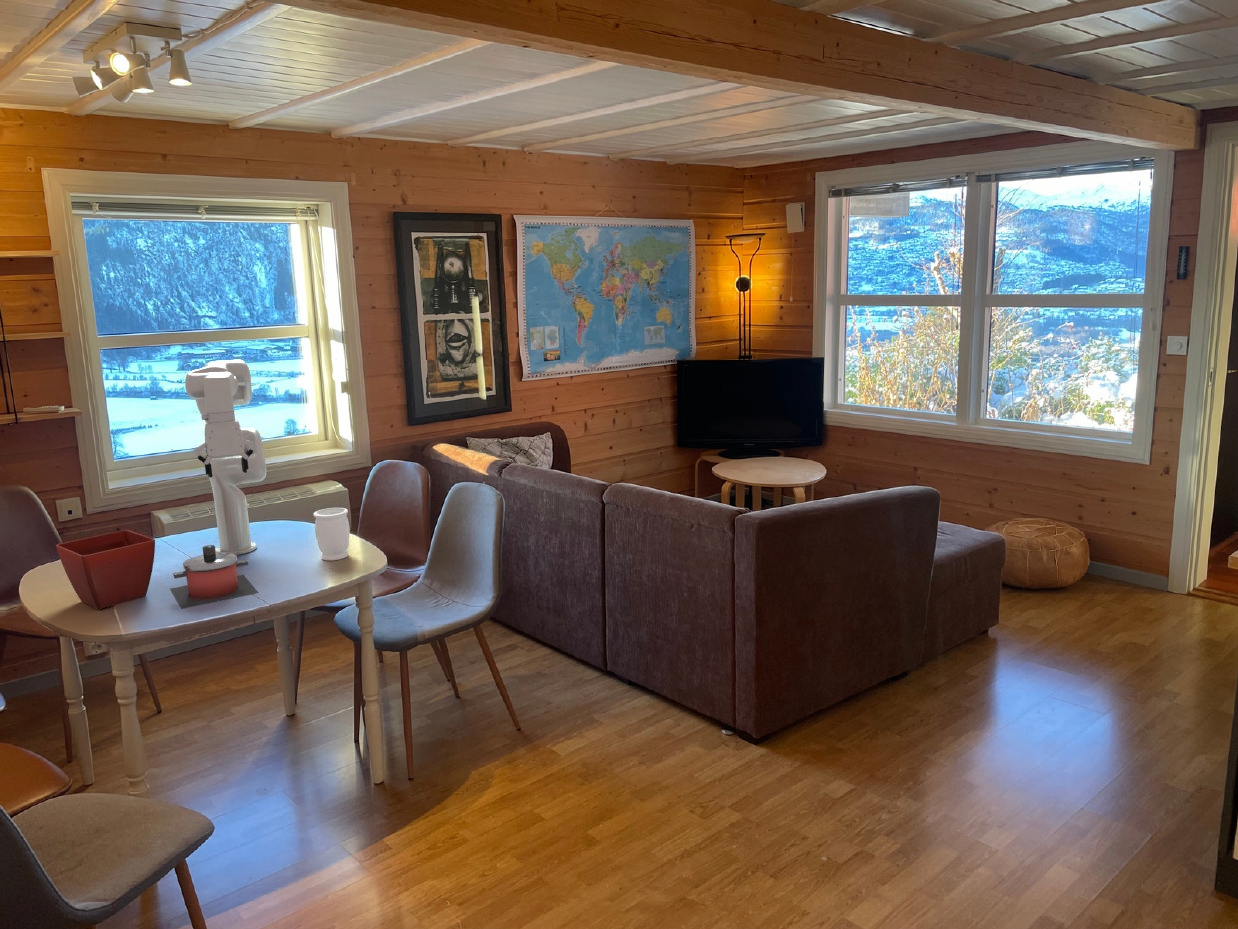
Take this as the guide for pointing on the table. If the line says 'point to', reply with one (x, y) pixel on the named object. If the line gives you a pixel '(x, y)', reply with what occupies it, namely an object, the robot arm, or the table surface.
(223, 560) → the lid
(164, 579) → the table surface
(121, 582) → the plant pot
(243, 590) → the plate
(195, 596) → the pot
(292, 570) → the table surface
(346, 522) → the jar
